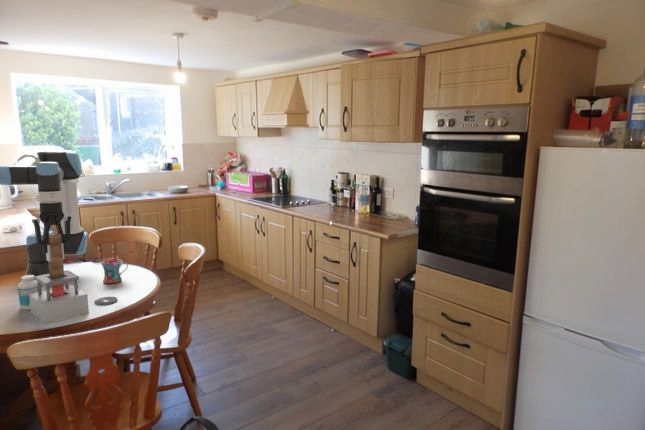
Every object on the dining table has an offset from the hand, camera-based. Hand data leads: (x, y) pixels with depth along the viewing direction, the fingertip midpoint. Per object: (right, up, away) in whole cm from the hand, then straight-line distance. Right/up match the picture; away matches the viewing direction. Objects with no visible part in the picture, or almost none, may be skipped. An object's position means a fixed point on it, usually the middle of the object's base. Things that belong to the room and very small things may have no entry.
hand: (55, 259), depth 171 cm
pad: (+12, -20, +17) cm, 29 cm away
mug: (+3, -16, +44) cm, 46 cm away
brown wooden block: (0, -8, +1) cm, 8 cm away
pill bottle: (-16, -21, +9) cm, 28 cm away
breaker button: (0, -18, +3) cm, 19 cm away
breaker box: (-1, -22, +4) cm, 23 cm away
